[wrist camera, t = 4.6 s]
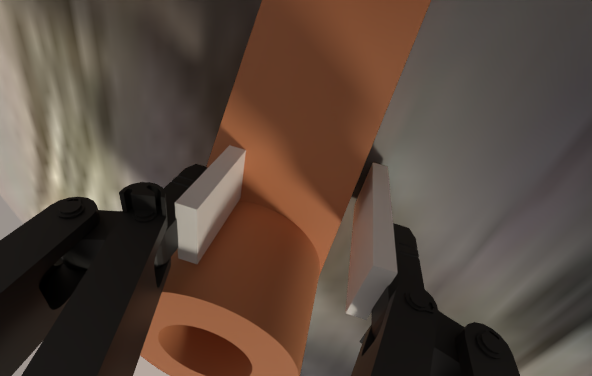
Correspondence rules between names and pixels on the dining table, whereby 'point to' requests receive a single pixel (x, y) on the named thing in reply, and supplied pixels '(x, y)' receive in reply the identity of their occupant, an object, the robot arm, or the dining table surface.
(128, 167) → the dining table surface
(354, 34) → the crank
